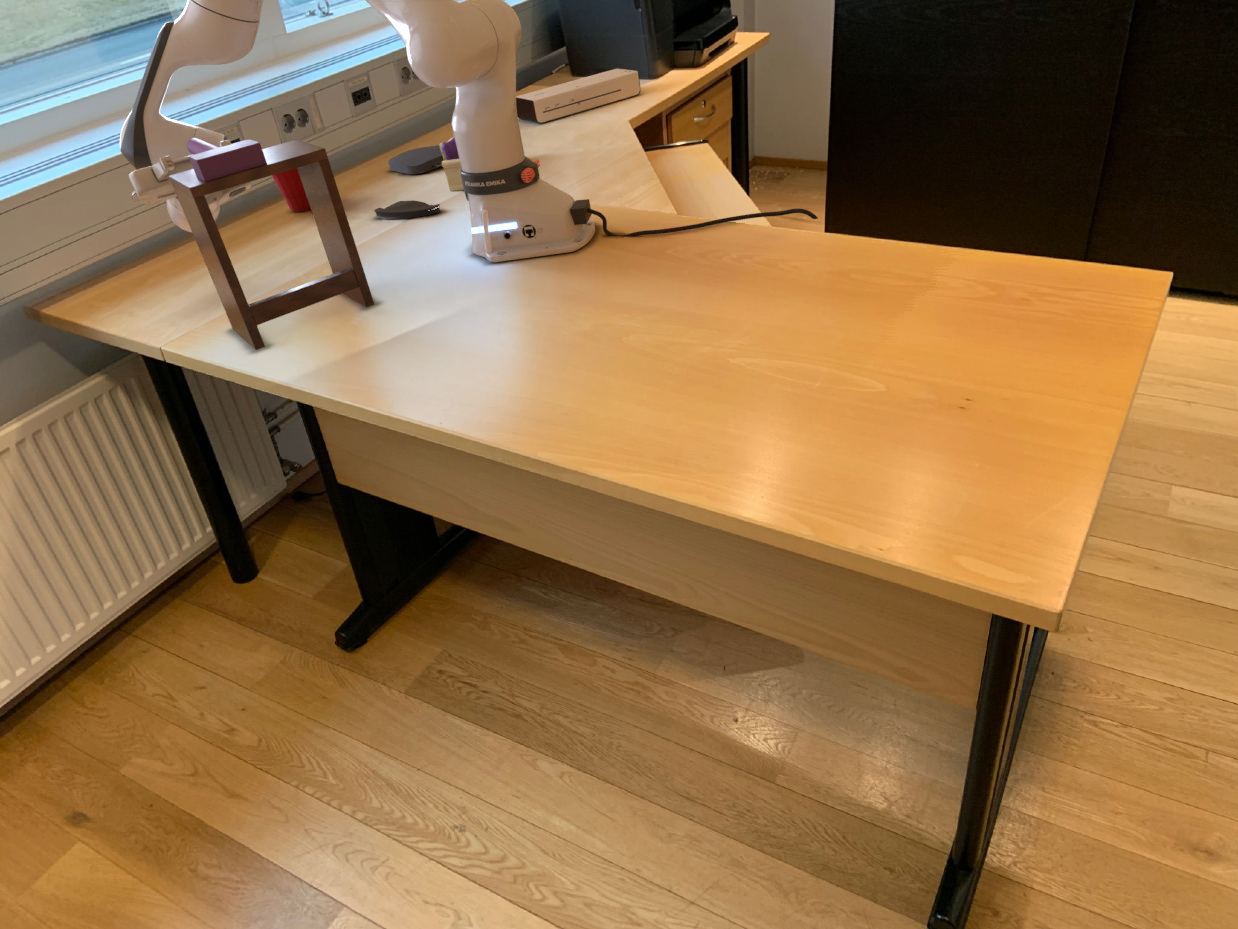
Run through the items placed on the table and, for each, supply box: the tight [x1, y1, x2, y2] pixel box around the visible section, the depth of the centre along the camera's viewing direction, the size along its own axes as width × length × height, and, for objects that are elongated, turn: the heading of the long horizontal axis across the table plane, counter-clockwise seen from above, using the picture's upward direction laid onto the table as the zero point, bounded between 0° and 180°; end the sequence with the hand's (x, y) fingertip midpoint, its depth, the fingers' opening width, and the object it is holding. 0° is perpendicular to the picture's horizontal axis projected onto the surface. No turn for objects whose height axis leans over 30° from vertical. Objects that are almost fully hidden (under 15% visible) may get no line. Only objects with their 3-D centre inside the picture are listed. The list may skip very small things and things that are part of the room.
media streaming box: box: [387, 144, 444, 175], centre depth 217 cm, size 15×15×3 cm
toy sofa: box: [438, 135, 464, 192], centre depth 199 cm, size 21×9×10 cm, turn 169°
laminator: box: [516, 67, 641, 124], centre depth 246 cm, size 34×12×6 cm, turn 124°
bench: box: [169, 139, 375, 351], centre depth 138 cm, size 20×12×25 cm, turn 127°
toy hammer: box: [187, 138, 267, 182], centre depth 132 cm, size 20×9×3 cm, turn 37°
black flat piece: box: [373, 199, 441, 220], centre depth 184 cm, size 8×14×2 cm, turn 57°
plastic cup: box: [270, 168, 311, 213], centre depth 197 cm, size 11×11×12 cm
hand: (197, 152), depth 140 cm, fingers open, 8 cm apart
